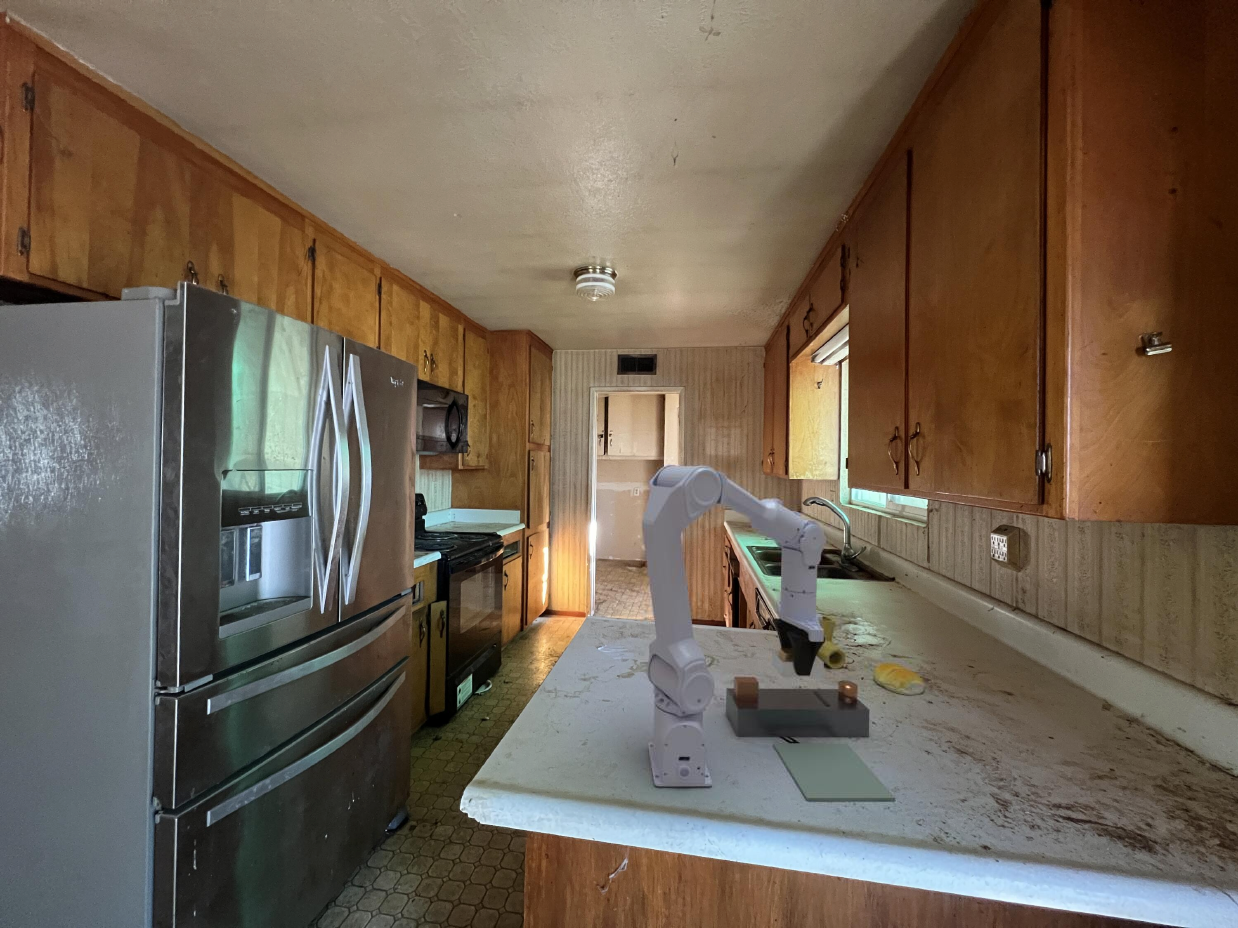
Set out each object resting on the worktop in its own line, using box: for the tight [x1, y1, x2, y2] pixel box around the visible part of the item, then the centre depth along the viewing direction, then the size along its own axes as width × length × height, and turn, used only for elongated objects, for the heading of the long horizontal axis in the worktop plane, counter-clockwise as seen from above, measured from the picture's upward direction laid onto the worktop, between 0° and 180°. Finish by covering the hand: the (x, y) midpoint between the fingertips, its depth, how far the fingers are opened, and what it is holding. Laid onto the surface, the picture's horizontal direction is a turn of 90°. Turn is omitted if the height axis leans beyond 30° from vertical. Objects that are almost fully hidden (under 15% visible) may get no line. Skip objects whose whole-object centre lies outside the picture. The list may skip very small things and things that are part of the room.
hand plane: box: [725, 676, 871, 738], centre depth 79 cm, size 7×22×8 cm, turn 92°
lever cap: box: [771, 647, 825, 678], centre depth 79 cm, size 5×7×3 cm, turn 92°
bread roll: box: [872, 662, 925, 696], centre depth 95 cm, size 8×9×4 cm
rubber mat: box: [772, 742, 896, 802], centre depth 67 cm, size 12×12×1 cm
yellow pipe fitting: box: [816, 613, 846, 670], centre depth 108 cm, size 13×10×10 cm
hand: (796, 667), depth 79 cm, fingers closed on lever cap, 5 cm apart
